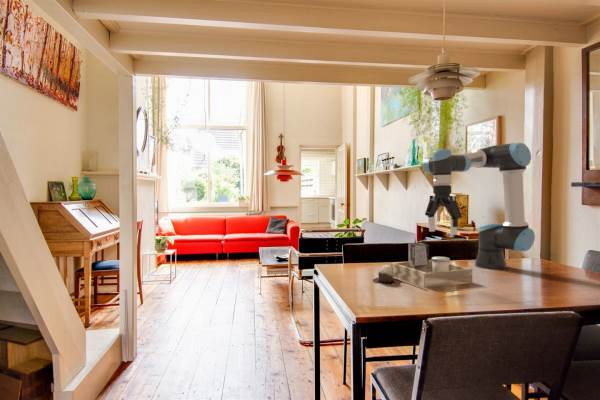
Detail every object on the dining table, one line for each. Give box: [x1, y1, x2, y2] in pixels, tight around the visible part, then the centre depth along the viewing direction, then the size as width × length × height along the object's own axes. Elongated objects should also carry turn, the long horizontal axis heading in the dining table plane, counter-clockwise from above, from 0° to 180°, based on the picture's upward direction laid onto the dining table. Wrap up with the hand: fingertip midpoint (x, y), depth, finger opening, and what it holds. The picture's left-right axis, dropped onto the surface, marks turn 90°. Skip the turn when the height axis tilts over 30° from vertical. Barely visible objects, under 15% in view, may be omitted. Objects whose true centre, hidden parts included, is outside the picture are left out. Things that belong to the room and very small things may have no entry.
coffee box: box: [408, 242, 430, 273], centre depth 164 cm, size 9×6×16 cm
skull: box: [372, 264, 402, 286], centre depth 166 cm, size 12×10×10 cm
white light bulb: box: [431, 256, 451, 272], centre depth 168 cm, size 8×8×9 cm
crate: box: [390, 259, 473, 291], centre depth 166 cm, size 24×24×7 cm
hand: (442, 233), depth 163 cm, fingers open, 13 cm apart
